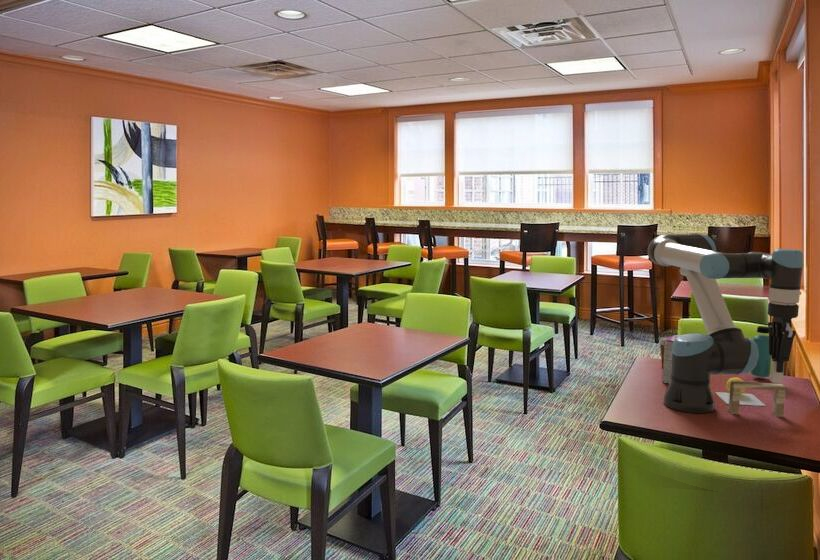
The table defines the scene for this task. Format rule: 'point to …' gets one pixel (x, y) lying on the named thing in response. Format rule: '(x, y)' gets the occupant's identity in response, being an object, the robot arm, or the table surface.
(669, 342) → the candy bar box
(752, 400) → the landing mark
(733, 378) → the ball
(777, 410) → the bridge
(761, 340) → the beverage bottle
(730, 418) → the table surface
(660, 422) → the table surface
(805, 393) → the table surface
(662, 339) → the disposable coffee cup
